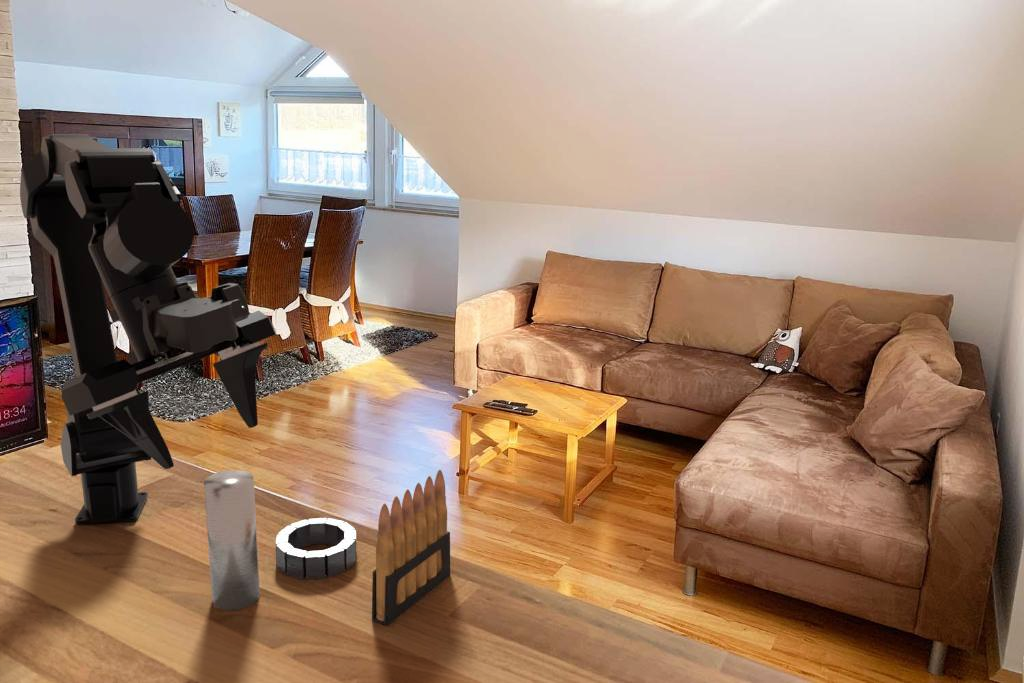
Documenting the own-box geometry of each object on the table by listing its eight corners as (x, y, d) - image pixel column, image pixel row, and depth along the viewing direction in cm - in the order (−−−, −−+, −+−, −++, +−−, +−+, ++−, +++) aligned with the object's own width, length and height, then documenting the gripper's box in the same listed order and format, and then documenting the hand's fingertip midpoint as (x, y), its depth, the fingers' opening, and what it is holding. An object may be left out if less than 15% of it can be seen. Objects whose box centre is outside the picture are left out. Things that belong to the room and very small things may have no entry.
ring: (279, 540, 94) (279, 520, 93) (355, 536, 96) (355, 516, 95) (274, 581, 86) (273, 559, 86) (356, 575, 88) (356, 554, 87)
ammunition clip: (386, 626, 80) (386, 510, 76) (371, 620, 81) (369, 505, 77) (450, 575, 89) (452, 468, 85) (436, 569, 90) (437, 464, 86)
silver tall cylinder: (215, 586, 85) (207, 471, 82) (261, 583, 86) (255, 469, 82) (209, 612, 81) (200, 491, 77) (257, 608, 82) (251, 489, 78)
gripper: (82, 291, 64) (168, 481, 66) (275, 237, 78) (341, 394, 80) (25, 325, 71) (103, 496, 73) (211, 269, 85) (273, 413, 87)
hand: (213, 446), depth 78 cm, fingers open, 9 cm apart
